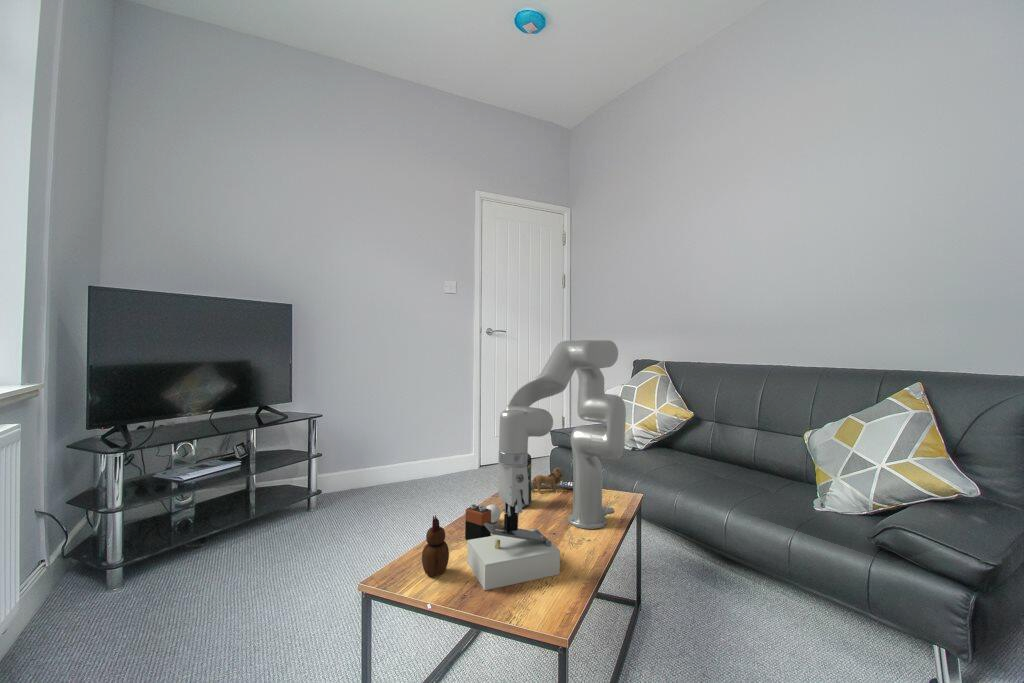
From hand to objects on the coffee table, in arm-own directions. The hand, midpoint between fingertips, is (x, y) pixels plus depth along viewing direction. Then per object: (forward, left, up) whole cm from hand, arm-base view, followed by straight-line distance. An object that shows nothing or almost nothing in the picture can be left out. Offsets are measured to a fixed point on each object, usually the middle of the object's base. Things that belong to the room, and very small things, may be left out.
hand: (510, 529), depth 112 cm
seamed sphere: (-6, -29, -10) cm, 31 cm away
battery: (+2, -19, -10) cm, 22 cm away
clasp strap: (-2, 0, -2) cm, 2 cm away
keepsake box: (-1, 0, -10) cm, 10 cm away
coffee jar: (-21, -42, -10) cm, 48 cm away
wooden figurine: (+18, -5, -10) cm, 22 cm away
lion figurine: (-37, -51, -10) cm, 64 cm away
